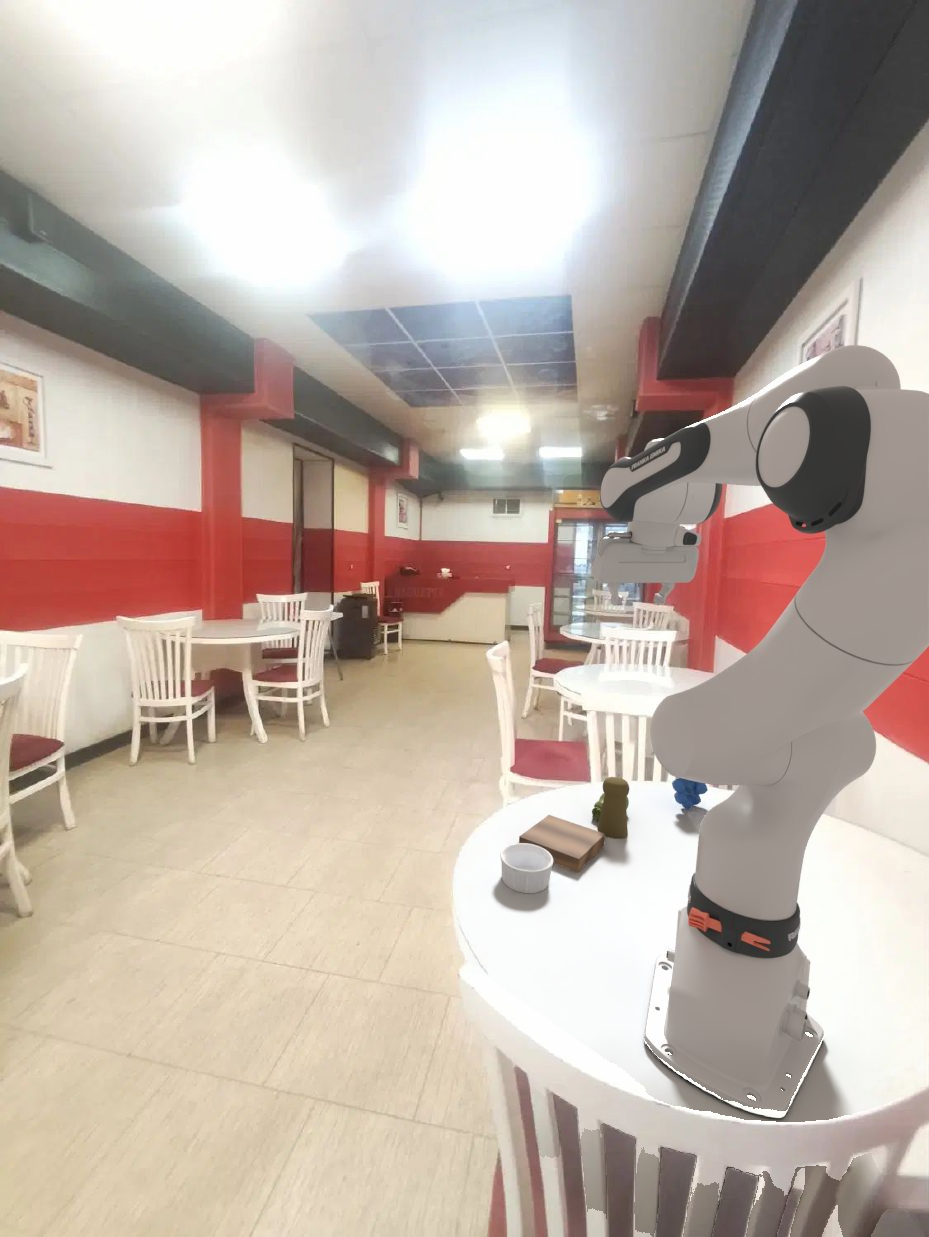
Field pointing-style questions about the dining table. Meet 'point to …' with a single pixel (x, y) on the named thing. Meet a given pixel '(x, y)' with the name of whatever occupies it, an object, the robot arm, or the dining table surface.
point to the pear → (598, 807)
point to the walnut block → (565, 841)
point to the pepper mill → (614, 808)
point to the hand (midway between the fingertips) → (637, 604)
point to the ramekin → (526, 867)
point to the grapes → (688, 792)
